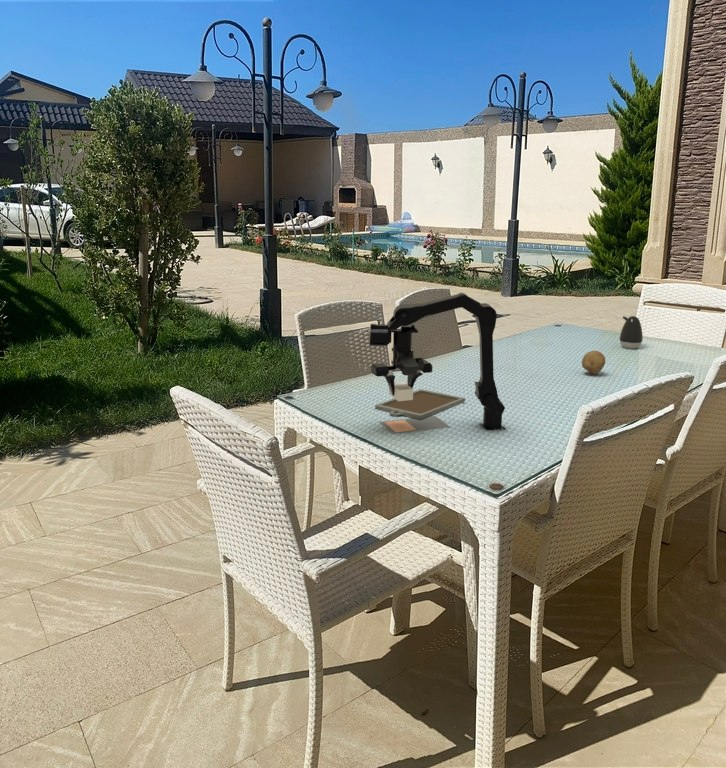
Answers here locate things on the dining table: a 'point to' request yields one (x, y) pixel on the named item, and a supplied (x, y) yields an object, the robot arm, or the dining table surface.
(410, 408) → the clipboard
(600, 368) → the brown potato
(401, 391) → the beige rectangular block
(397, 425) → the mat
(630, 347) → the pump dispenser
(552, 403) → the dining table surface
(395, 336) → the robot arm
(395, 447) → the dining table surface
